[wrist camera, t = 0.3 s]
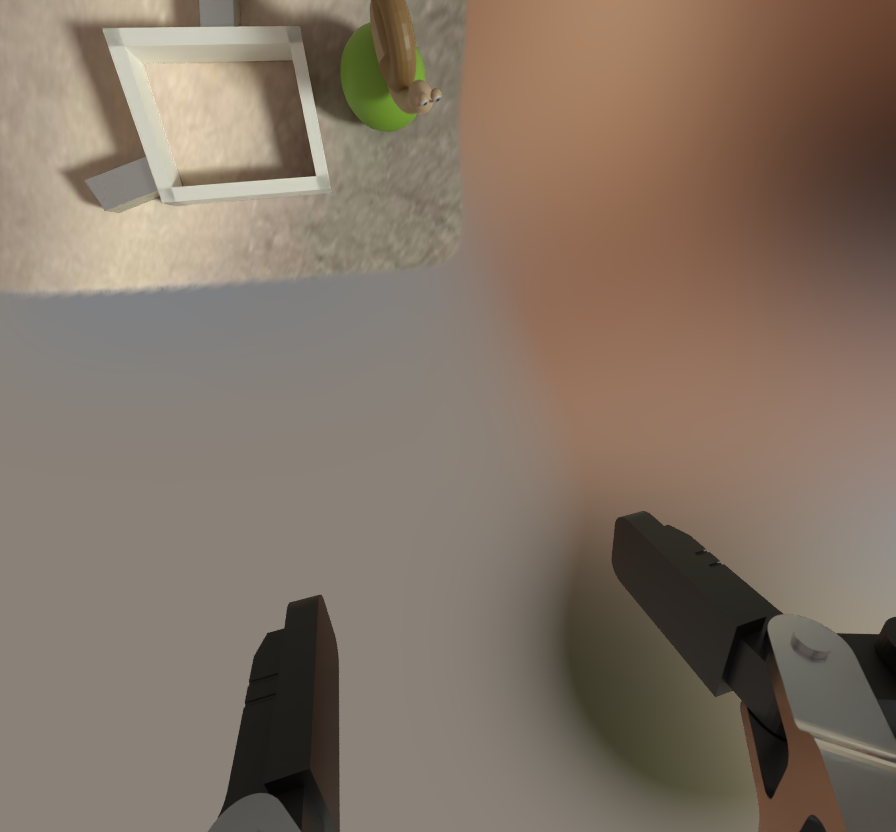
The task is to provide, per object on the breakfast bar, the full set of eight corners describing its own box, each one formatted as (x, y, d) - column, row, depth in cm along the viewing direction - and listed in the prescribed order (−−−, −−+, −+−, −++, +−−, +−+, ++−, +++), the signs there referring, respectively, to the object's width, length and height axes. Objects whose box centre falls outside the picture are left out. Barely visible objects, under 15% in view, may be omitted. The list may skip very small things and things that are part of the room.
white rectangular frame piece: (4, -56, 22) (-34, -90, 20) (284, -50, 25) (279, -80, 22) (110, 213, 27) (91, 210, 25) (331, 194, 30) (331, 190, 28)
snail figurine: (364, 165, 30) (379, 120, 19) (326, 58, 27) (319, -65, 16) (432, 141, 30) (484, 85, 20) (401, 34, 28) (442, -101, 17)
